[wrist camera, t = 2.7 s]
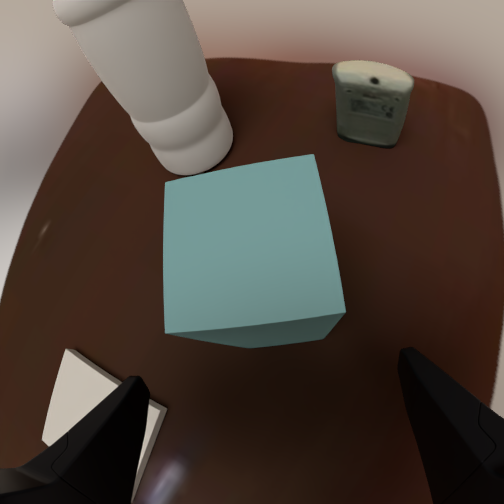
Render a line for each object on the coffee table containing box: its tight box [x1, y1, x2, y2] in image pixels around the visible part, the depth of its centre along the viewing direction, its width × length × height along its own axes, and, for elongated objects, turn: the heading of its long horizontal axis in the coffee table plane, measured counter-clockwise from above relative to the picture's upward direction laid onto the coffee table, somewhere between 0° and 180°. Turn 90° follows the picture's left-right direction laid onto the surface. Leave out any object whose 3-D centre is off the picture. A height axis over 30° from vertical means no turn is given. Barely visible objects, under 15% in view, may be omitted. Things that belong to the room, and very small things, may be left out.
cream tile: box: [42, 349, 167, 502], centre depth 20 cm, size 10×10×1 cm
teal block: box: [163, 154, 346, 348], centre depth 15 cm, size 5×5×13 cm
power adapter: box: [332, 60, 414, 148], centre depth 21 cm, size 6×5×8 cm
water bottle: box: [53, 0, 233, 175], centre depth 15 cm, size 7×7×25 cm
